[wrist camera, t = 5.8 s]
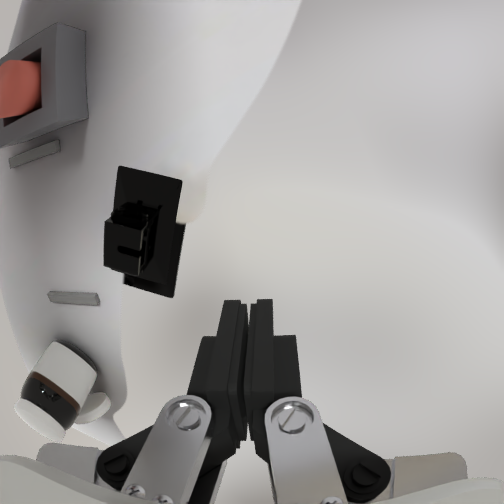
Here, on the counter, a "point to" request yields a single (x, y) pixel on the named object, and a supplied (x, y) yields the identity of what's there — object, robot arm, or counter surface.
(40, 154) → the strip
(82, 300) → the strip
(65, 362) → the spread jar
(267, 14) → the counter surface
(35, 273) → the counter surface
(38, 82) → the plunger
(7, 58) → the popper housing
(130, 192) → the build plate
